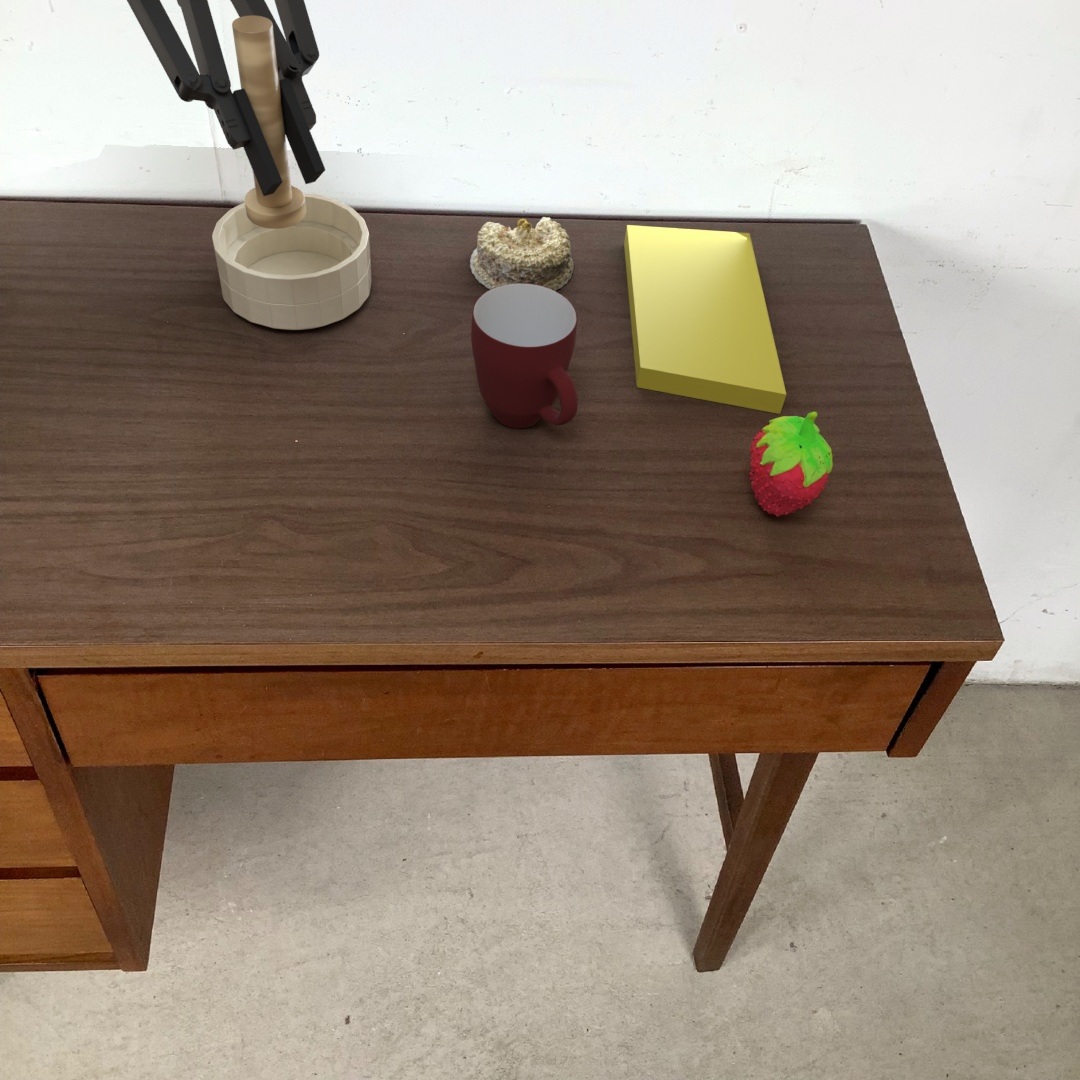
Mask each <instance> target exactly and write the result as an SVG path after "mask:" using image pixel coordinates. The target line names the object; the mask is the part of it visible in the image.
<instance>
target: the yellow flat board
mask: <svg viewBox="0 0 1080 1080" xmlns="http://www.w3.org/2000/svg"><path fill="white" fill-rule="evenodd" d="M624 235H625V236H624V241H623V247H624V248H623V249H624V250H623V251H624V258H625V259H624V260H625V270H626V282H627V283H626V284H627V292H628V305H629V315H630V326H631V338H632V349H633V360H634V371H635V383H636V388H639V389H645V390H649V391H654V392H660V393H664V394H665V393H666V394H671V395H676V396H681V397H682V396H683V397H687V398H693V399H698V400H703V401H709V402H715V403H719V404H724V405H731V406H736V407H740V408H741V407H742V408H746V409H752V410H757V411H762V412H768V413H773V414H779V415H781V413H782V409H783V407H784V403H785V400H786V397H787V391H786V387H785V383H784V377H783V374H782V373H783V372H782V370H781V369H782V368H781V365H780V360H779V356H778V351H777V347H776V343H775V338H774V334H773V329H772V326H771V321H770V318H769V312H768V308H767V304H766V299H765V295H764V291H763V286H762V282H761V278H760V273H759V268H758V264H757V259H756V256H755V251H754V247H753V242H752V238H751V234H750V232H737V231H724V230H723V231H722V230H708V229H695V228H694V229H692V228H679V227H665V226H664V227H663V226H647V225H636V224H635V225H633V224H626V229H625V234H624Z"/></svg>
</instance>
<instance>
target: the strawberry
mask: <svg viewBox="0 0 1080 1080" xmlns="http://www.w3.org/2000/svg"><path fill="white" fill-rule="evenodd" d="M817 417H818V412H817V411H812V412H809V413H807V415H805V417H802V416H799V415H784V416H783V415H782V416H780V417H776V418H773V419H769V420H768V423H767V424H766V425H764V427H762V429H760V430H758V432H757V433H756V434H755V436H754V437H753V441H751V442H750V443H751V445H750V446H749V448H750V450H749V453H750V455H751V456H750V458H749V460H750V461H751V462H750V463H749V465H750V467H749V470H751V471H750V472H749V476H750V477H749V481H750V483H751V485H750V486H751V488H750V489H751V490H752V491H753V493H754V499H756V500H757V505H758V506H760V508H761V509H762V511H765V512H766V513H767V514H768V515H775V516H776V517H781V516H783V515H785V516H786V515H788V514H790V513H795V512H796V511H797V510H799V509H800V510H802V509H803V508H804V507H807V506H808V505H812V501H813V500H814V499H816V498H818V497H820V493H822V491H823V490H825V485H826V484H827V482H829V474H830V473H832V469H833V466H834V464H833V463H834V462H833V458H834V457H833V454H832V448H831V446H830V445H829V444H828V442H827V441H826V439H824V437H823V436H822V435H821V434H820V432H821V430H820V428H819V427H818V426H817V425H816V424H815V420H816V418H817Z"/></svg>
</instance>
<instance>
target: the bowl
mask: <svg viewBox="0 0 1080 1080" xmlns="http://www.w3.org/2000/svg"><path fill="white" fill-rule="evenodd" d="M302 193H303V192H302ZM303 194H304V197H305V204H306V215H305V217H304V218H303V220H302V221H300V222H299V223H297V224H295V225H293V226H290V227H287V228H280V229H270V228H264V227H260V226H258V225H256V224H254V223H252V222H251V221H250V220H249V219H248V217H247V213H246V207H245V201H244V202H242V203H240V204H238V205H236V206H234V207H233V208H231V209H229V210H227V212H226V213H225V214H223V216H222V217H221V218H220V219H218V221H217V222H216V224H215V226H214V229H213V231H212V235H211V240H212V244H213V245H212V246H213V250H214V255H215V261H216V262H215V263H216V266H217V272H218V278H219V282H220V283H219V284H220V290H221V293H222V298H223V300H224V302H225V303H226V304H227V306H228V307H229V308H230V309H231V310H232V311H233V313H235V314H236V315H238V316H240V317H241V318H243V319H245V320H247V321H248V322H249V323H254V324H257V325H261V326H264V327H267V328H271V329H277V330H286V331H305V330H313V329H317V328H322V327H325V326H328V325H330V324H333V323H336V322H339V321H341V320H344V319H345V318H347V317H348V316H350V315H352V314H353V313H354V312H356V311H358V310H359V309H360V308H361V307H362V306H363V304H364V303H365V301H366V300H367V299H368V298H369V296H370V293H371V287H372V281H373V279H372V262H371V246H370V243H371V242H370V231H369V229H368V226H367V224H366V223H367V222H366V221H365V219H364V217H362V216H361V214H359V213H358V212H357V211H356V210H355V209H354V208H353V207H352V206H349V205H347V204H345V203H343V202H341V201H339V200H338V199H335V198H331V197H329V196H323V195H318V194H316V193H315V194H314V193H306V192H305V193H303Z"/></svg>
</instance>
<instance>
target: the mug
mask: <svg viewBox="0 0 1080 1080" xmlns="http://www.w3.org/2000/svg"><path fill="white" fill-rule="evenodd" d="M471 311H472V312H471V326H470V327H471V328H470V329H471V330H470V341H471V350H472V356H473V361H474V366H475V370H476V371H475V373H476V377H477V382H478V383H477V384H478V388H479V392H480V394H481V397H482V399H483V401H484V403H485V404H486V406H487V408H488V409H489V411H490V412H491V413H492V415H493V417H494V418H495V419H496V421H498V422H499V423H500V424H501V425H503V426H506V427H508V428H512V429H525V428H529V427H532V426H534V425H536V424H537V423H539V421H540V420H541V419H542V418H543V419H544V420H545V421H547V422H548V423H550V424H552V425H555V426H562V425H566V424H568V423H570V422H571V421H572V420H574V418H575V417H576V415H577V412H578V407H579V399H578V393H577V388H576V386H575V383H574V381H573V378H572V377H571V376H570V375H569V373H568V370H569V366H570V364H571V361H572V358H573V354H574V350H575V347H576V338H577V331H578V313H577V310H576V308H575V307H574V305H573V303H572V301H570V300H569V299H568V298H567V297H565V295H563V294H561V293H560V292H558V291H557V290H556V291H554V290H552V289H549V288H547V287H543V286H540V285H535V284H527V283H514V284H506V285H502V286H498V287H495V288H493V289H488V290H487V291H485V292H484V293H482V294H481V295H480V296H479V297H478V298H477V299H476V301H475V303H473V307H472V310H471ZM558 397H559V401H560V402H559V403H560V411H558V410H556V409H555V408H553V406H554V404H555V403H556V401H557V399H558Z"/></svg>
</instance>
